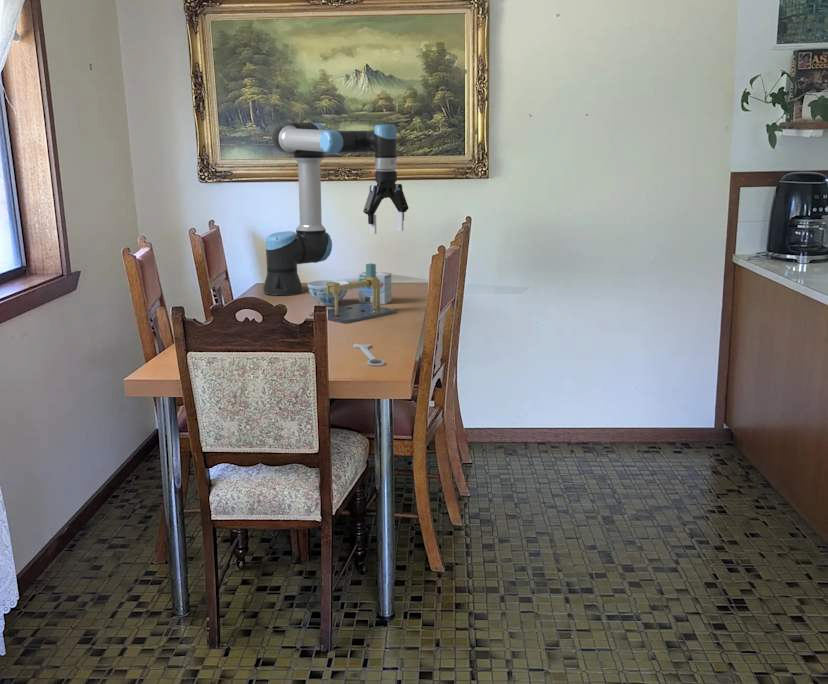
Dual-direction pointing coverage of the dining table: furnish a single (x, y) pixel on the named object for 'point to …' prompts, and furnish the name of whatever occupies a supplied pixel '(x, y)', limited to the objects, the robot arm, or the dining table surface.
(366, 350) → the wrench
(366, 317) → the flange plate
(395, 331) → the dining table surface
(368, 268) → the sliding head
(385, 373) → the dining table surface
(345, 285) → the divider frame
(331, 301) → the chinaware
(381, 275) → the light bulb box
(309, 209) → the robot arm
